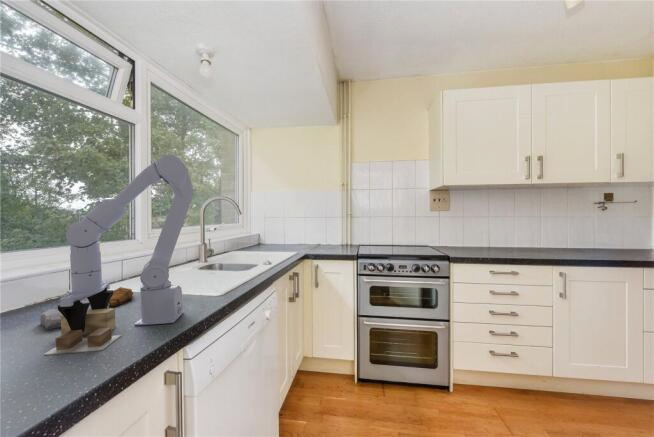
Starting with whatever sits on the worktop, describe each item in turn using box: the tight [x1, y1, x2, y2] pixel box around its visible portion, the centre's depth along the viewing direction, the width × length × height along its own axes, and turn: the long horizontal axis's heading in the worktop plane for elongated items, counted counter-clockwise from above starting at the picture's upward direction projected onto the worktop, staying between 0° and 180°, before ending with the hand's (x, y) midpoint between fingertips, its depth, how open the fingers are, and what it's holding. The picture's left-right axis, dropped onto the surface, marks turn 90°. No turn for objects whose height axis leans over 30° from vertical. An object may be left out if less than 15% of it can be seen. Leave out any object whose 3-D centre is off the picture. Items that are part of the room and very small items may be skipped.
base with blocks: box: [43, 328, 122, 356], centre depth 63 cm, size 11×7×3 cm, turn 98°
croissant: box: [108, 286, 134, 308], centre depth 94 cm, size 14×7×5 cm, turn 17°
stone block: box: [40, 299, 91, 330], centre depth 78 cm, size 12×5×10 cm
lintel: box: [60, 307, 117, 335], centre depth 70 cm, size 10×3×5 cm, turn 98°
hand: (89, 326), depth 70 cm, fingers open, 7 cm apart
